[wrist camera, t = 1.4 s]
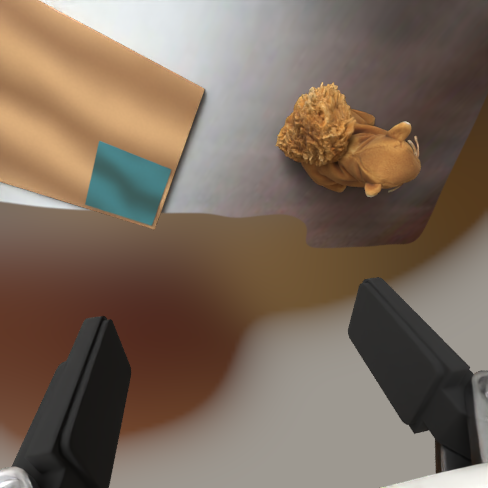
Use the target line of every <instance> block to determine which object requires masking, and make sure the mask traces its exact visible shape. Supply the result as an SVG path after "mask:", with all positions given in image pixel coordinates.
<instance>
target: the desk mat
mask: <svg viewBox="0 0 488 488" xmlns="http://www.w3.org/2000/svg"><path fill="white" fill-rule="evenodd" d="M204 90H205V89H204V88H202V87H200V86H198V85H197V84H195V83H193V82H191V81H189V80H187V79H185V78H183V77H182V76H180V75H178V74H176V73H174V72H172V71H170V70H168V69H167V68H165V67H163V66H161V65H159V64H157V63H155V62H153V61H152V60H150V59H148V58H146V57H144V56H142V55H140V54H138V53H137V52H135V51H133V50H131V49H129V48H127V47H125V46H123V45H122V44H120V43H118V42H116V41H114V40H112V39H110V38H108V37H107V36H105V35H103V34H101V33H99V32H97V31H95V30H93V29H92V28H90V27H88V26H86V25H84V24H82V23H80V22H78V21H77V20H75V19H73V18H71V17H69V16H67V15H65V14H63V13H62V12H60V11H58V10H56V9H54V8H52V7H50V6H48V5H47V4H45V3H43V2H41V1H39V0H0V182H3V183H6V184H9V185H12V186H16V187H19V188H22V189H25V190H29V191H32V192H35V193H38V194H41V195H45V196H48V197H51V198H54V199H58V200H61V201H64V202H67V203H70V204H74V205H77V206H80V207H83V208H86V209H90V210H93V211H96V212H99V213H103V214H106V215H109V216H113V217H116V218H119V219H122V220H125V221H129V222H132V223H135V224H138V225H142V226H145V227H148V228H151V229H155V227H156V224H157V222H158V219H159V216H160V213H161V211H162V208H163V205H164V202H165V199H166V197H167V194H168V191H169V188H170V185H171V183H172V180H173V177H174V174H175V171H176V169H177V166H178V163H179V160H180V157H181V155H182V152H183V149H184V146H185V143H186V140H187V138H188V135H189V132H190V129H191V126H192V124H193V121H194V118H195V115H196V112H197V110H198V107H199V104H200V101H201V98H202V96H203V93H204Z"/></svg>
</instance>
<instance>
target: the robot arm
mask: <svg viewBox="0 0 488 488" xmlns="http://www.w3.org/2000/svg"><path fill="white" fill-rule="evenodd" d="M348 334H349V338H350V339H351V341H352V342H353V344H354V346H355V347H356V349H357V350H358V352H359V354H360V355H361V357H362V358H363V360H364V362H365V363H366V365H367V366H368V368H369V369H370V371H371V373H372V374H373V376H374V377H375V379H376V381H377V382H378V384H379V385H380V387H381V388H382V390H383V391H384V393H385V395H386V396H387V398H388V400H389V401H390V403H391V404H392V406H393V407H394V409H395V411H396V412H397V413H398V415H399V417H400V418H401V420H402V421H403V422H404V423H405V424H407V425H409V426H410V428H411V429H412V431H413V432H414V434H415V433H419V432H424V431H428V430H429V431H430V432H431V434H432V435H433V436H434V438H435V460H436V461H435V462H436V474H433V475H429V476H425V477H421V478H417V479H413V480H409V481H406V482H401V483H397V484H393V485H389V486H385V487H381V488H488V371H478V372H476V373H475V374H473V373H472V372H471V371H470V370H469V369H470V367H469V366H468V365H467V364H466V363H465V362H464V361H463V360H462V359H461V358H460V357H459V356H458V355H457V354H456V353H455V352H454V351H453V350H452V349H451V348H450V347H449V346H448V345H447V344H446V343H445V342H444V341H443V339H442V338H440V337H439V336H438V334H437V333H436V332H435V331H434V330H432V329H431V327H430V326H429V325H428V324H427V323H426V322H425V321H424V320H423V319H422V318H421V317H420V316H419V315H418V314H417V313H416V312H415V311H414V310H412V308H411V307H410V306H409V305H408V304H407V303H406V302H405V301H404V300H403V299H402V298H401V297H400V296H399V295H398V294H397V293H396V292H395V291H394V290H393V289H392V288H391V287H390V286H389V285H388V284H387V283H386V282H385V281H384V280H383V279H382V278H379V277H377V278H370V279H365V280H364V281H363V283H362V284H360V286H359V289H358V293H357V297H356V301H355V304H354V308H353V313H352V316H351V320H350V324H349V328H348ZM130 377H131V367H130V364H129V362H128V360H127V357H126V354H125V352H124V349H123V347H122V344H121V341H120V339H119V336H118V334H117V332H116V329H115V326H114V324H113V321H112V320H111V319H110V320H107V318H106V317H105V316H101V317H94V318H87V319H85V321H84V322H83V324H82V327H81V329H80V331H79V334H78V336H77V338H76V340H75V343H74V345H73V347H72V350H71V352H70V354H69V357H68V359H67V361H65V362H63V363H61V364H60V365H59V366H58V368H57V370H56V372H55V374H54V376H53V378H52V380H51V383H50V385H49V387H48V389H47V391H46V394H45V396H44V398H43V400H42V402H41V404H40V407H39V409H38V411H37V413H36V415H35V417H34V419H33V422H32V424H31V426H30V428H29V430H28V432H27V435H26V437H25V439H24V441H23V443H22V445H21V448H20V450H19V452H18V454H17V456H16V458H15V461H14V463H13V465H12V467H9V468H4V469H1V470H0V488H109V484H110V479H111V474H112V469H113V464H114V459H115V453H116V449H117V444H118V439H119V433H120V428H121V423H122V418H123V413H124V408H125V402H126V398H127V392H128V388H129V383H130Z"/></svg>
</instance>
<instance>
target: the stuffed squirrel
mask: <svg viewBox="0 0 488 488" xmlns="http://www.w3.org/2000/svg"><path fill="white" fill-rule="evenodd" d="M337 87H338V86H335V85H334V82H333V83H332V84H331V85H329V84H328V85H327V86H323V82H322V83H321V85H320V88H319V87H318V88H317V89H315V87H312V88H311V89H310V91H309V94H308V95H307V94H305V95H303V94H302V96H301V97H299V99H298V101H297V102H296V104H295V105H294V112H293V113H291V115H290V116H288V118H286V122H285V126H284V127H282V129H281V130H280V132H279V135H277V136H278V138H277V139H278V141H277V143H276V144H277V145H276V146H279V148H280V150H282V151H283V152H284V153H285V155H286V156H288V157H289V158H291V159H293V160H294V161H296V162H301V164H302V166H303V168H304V169H305V171H306V172H307V173H308V175H309V176H310V177H311V178H312V180H313V181H314V182H315V183H317V184H318V185H320V186H324V187H326V188H327V189H330V190H332V191H336V192H342V191H344V189H345V188H346V186H352V187H365V193H366V195H367V196H368V197H373V196H375V195H377V194H378V193H379V192H380V191H381V189H388V188H392V187H396V186H398V187H396V188H395V189H392V190H389V191H388V192H391V191H394V190H396V189H398V188H399V187H400V186H401V185H402V184H403V183H406V182H409V181H411V180H413V179H415V178H416V176H417V175H418V174H419V172H420V169H421V165H420V160H419V159H418V156H419V147H418V146H419V145H418V141H417V136H414V139H415V142H416V143H417V150H416V148H415V145H414V144H413V143H412V141H411V140H408V142H409V144H410V145H411V146H412V147H413V149H412V148H411V146H410V145H409V144H408V143H407V142H406V141H404V140H405V139H406V138H407V137H408V135H409V134H410V132H411V125H410V123H408V122H401V123H399V124H398V125H396V126H394V127H393V128H392V129H391V130H389V131H386V130H384V129H381V128H378V127H375V126H373V125H374V123H375V118H374V117H373V116H372V115H370V114H368V113H365V112H362V111H358V110H354V109H351V108H350V106H348V105H347V104H346V101H345V96H344V94H340V92H339V90H337ZM313 88H314V89H313ZM314 90H315V91H314ZM413 150H414V153H413Z"/></svg>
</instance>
